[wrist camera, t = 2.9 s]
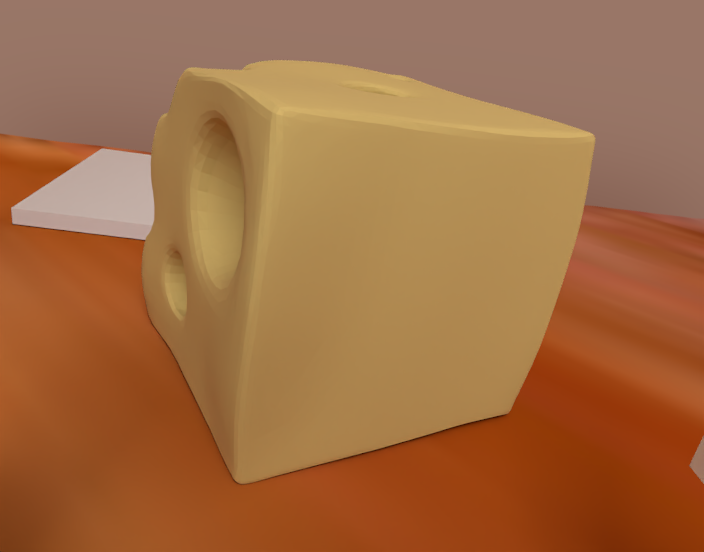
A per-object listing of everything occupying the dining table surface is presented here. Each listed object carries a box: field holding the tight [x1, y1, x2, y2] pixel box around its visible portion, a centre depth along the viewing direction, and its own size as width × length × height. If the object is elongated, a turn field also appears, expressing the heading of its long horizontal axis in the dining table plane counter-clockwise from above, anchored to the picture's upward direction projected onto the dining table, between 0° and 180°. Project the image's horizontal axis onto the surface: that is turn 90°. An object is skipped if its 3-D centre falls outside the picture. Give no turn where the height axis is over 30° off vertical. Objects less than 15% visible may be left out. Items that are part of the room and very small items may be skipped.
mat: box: [11, 149, 154, 240], centre depth 36 cm, size 26×13×1 cm, turn 93°
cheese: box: [142, 60, 595, 484], centre depth 20 cm, size 10×11×10 cm
